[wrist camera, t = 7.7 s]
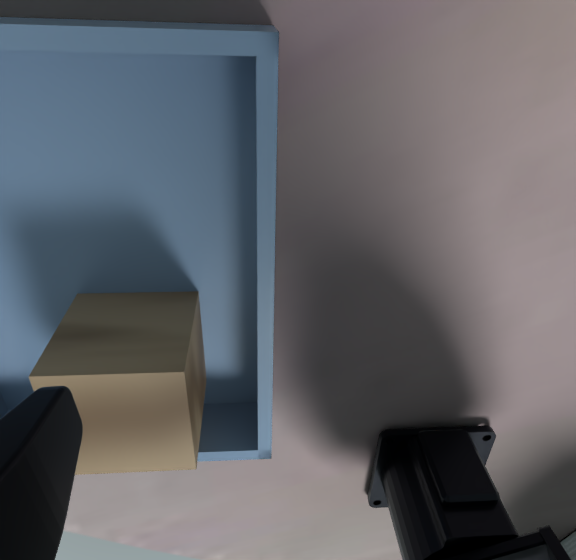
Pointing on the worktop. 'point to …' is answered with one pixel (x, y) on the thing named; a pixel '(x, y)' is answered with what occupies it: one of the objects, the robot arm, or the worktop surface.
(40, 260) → the tote
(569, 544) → the skincare box
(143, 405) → the cube
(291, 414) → the worktop surface
